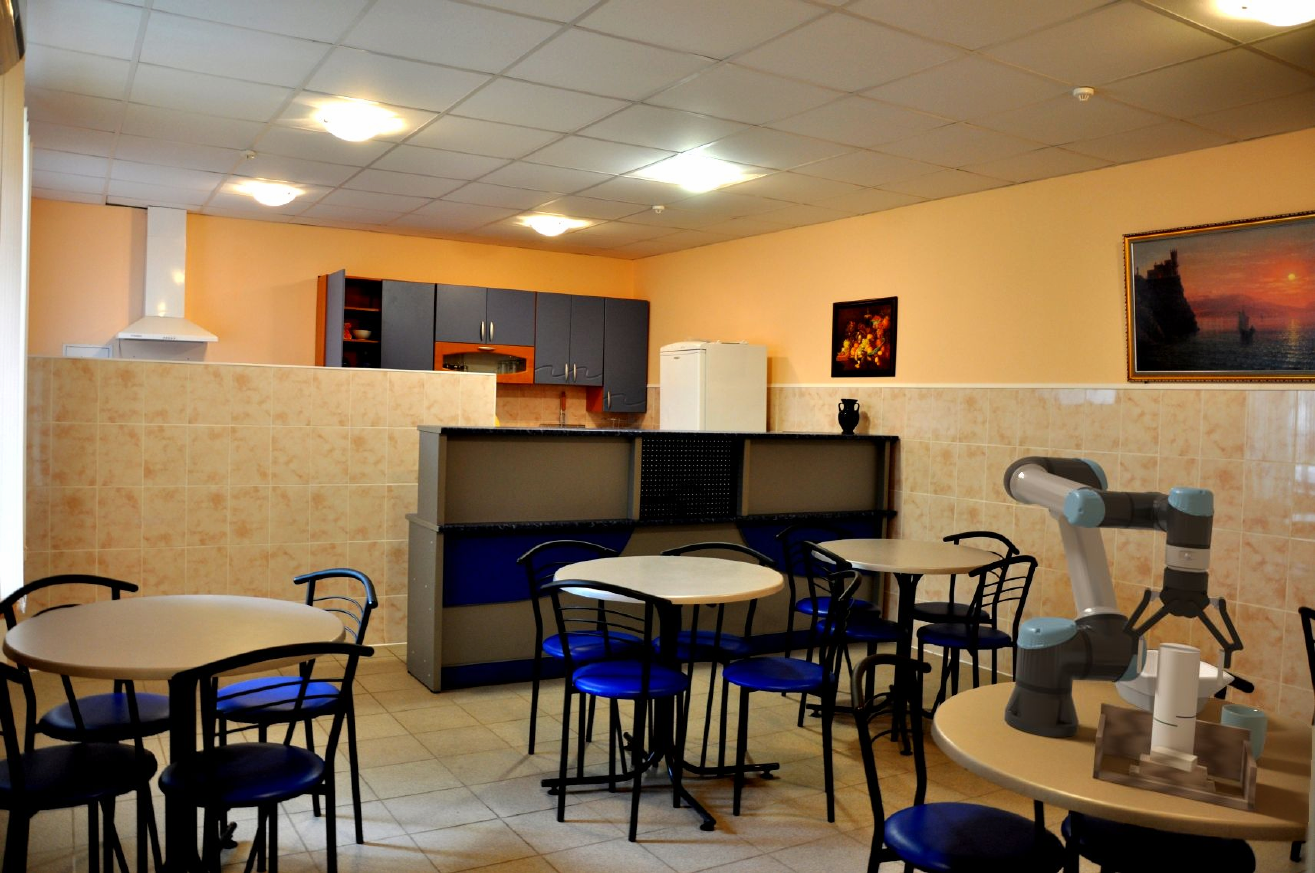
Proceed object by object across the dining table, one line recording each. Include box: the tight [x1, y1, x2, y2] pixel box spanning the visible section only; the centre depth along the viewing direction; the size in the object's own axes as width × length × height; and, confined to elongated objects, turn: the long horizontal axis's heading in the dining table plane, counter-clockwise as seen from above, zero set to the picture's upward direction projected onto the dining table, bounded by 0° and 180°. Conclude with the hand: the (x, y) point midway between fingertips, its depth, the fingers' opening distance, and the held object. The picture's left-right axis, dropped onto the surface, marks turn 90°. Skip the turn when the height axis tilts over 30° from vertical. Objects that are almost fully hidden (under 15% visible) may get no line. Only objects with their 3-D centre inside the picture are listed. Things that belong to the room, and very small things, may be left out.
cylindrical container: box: [1151, 642, 1202, 755], centre depth 183 cm, size 7×7×25 cm
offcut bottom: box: [1129, 764, 1216, 794], centre depth 178 cm, size 14×4×2 cm, turn 63°
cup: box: [1220, 704, 1268, 762], centre depth 195 cm, size 8×8×10 cm
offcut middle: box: [1138, 754, 1208, 787], centre depth 178 cm, size 11×4×2 cm, turn 61°
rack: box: [1092, 702, 1258, 813], centre depth 182 cm, size 26×17×10 cm, turn 62°
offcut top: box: [1150, 746, 1198, 772], centre depth 178 cm, size 7×4×2 cm, turn 46°
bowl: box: [1114, 649, 1235, 714], centre depth 230 cm, size 24×25×10 cm
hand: (1178, 678), depth 183 cm, fingers open, 13 cm apart
